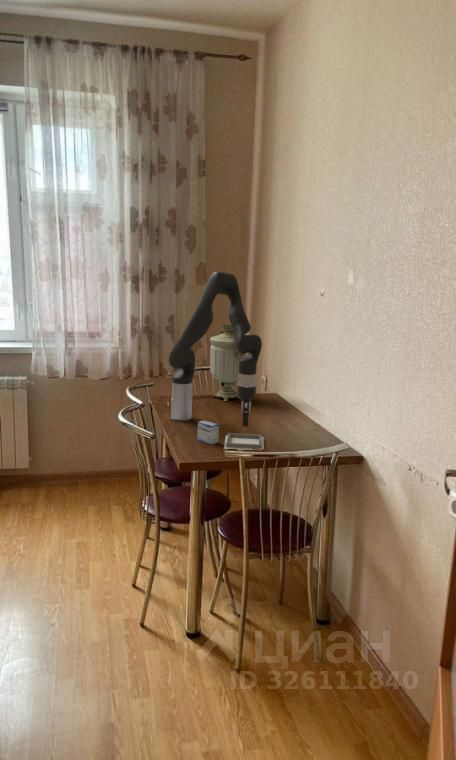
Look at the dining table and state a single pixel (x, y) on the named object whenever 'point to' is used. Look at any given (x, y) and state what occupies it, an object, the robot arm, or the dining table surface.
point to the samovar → (225, 361)
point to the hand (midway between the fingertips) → (245, 423)
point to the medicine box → (208, 432)
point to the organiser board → (243, 441)
